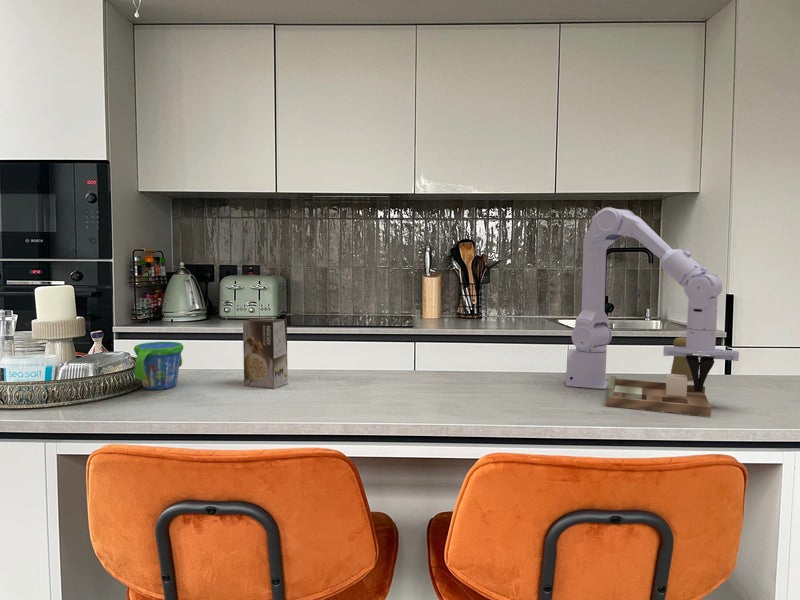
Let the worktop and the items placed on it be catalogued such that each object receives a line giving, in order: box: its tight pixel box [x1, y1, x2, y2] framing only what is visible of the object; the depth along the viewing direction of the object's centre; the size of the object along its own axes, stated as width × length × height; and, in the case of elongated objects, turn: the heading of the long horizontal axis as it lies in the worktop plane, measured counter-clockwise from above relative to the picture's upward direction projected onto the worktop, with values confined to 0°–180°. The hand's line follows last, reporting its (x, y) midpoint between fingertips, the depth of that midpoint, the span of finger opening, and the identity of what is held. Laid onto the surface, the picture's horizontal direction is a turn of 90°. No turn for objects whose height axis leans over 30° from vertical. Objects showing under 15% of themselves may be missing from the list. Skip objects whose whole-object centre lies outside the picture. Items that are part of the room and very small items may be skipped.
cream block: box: [665, 373, 688, 397], centre depth 130 cm, size 4×4×4 cm
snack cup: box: [133, 341, 184, 391], centre depth 139 cm, size 16×10×10 cm
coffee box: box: [242, 317, 289, 389], centre depth 143 cm, size 9×6×16 cm
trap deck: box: [605, 375, 712, 417], centre depth 129 cm, size 20×14×4 cm
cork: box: [670, 336, 694, 382], centre depth 157 cm, size 6×6×11 cm
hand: (698, 390), depth 129 cm, fingers closed
